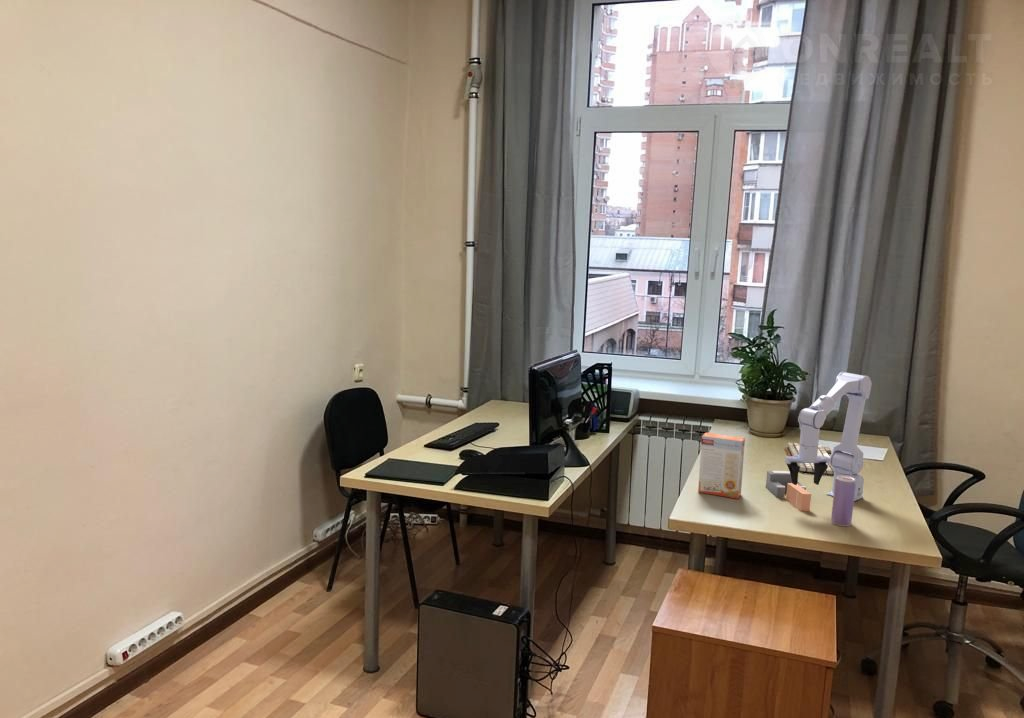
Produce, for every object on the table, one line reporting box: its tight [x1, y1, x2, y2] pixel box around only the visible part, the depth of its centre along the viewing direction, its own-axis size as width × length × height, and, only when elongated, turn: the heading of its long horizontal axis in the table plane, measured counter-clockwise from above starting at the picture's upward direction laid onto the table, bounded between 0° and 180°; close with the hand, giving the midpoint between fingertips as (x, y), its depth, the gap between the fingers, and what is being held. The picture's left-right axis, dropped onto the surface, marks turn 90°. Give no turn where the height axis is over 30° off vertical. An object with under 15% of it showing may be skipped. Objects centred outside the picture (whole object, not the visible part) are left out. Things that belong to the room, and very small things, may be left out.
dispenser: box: [765, 470, 807, 499], centre depth 266 cm, size 11×10×6 cm
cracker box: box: [697, 432, 746, 499], centre depth 262 cm, size 14×6×21 cm, turn 63°
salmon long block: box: [785, 483, 812, 512], centre depth 254 cm, size 11×3×6 cm, turn 6°
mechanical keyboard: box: [783, 442, 834, 476], centre depth 306 cm, size 38×19×3 cm, turn 168°
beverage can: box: [830, 475, 856, 527], centre depth 238 cm, size 6×6×15 cm
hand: (805, 483), depth 250 cm, fingers open, 7 cm apart
